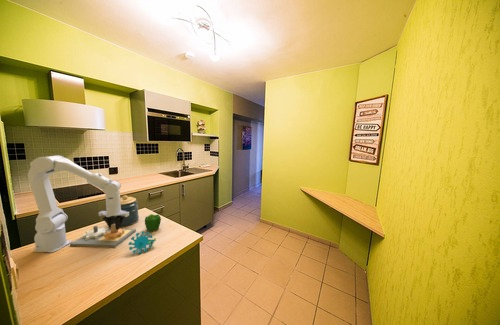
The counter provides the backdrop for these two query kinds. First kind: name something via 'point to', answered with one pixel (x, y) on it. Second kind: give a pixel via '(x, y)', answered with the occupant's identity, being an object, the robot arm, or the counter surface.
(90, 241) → the gear board
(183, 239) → the counter surface
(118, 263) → the counter surface
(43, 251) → the robot arm
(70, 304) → the counter surface
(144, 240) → the teal virus toy
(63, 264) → the counter surface
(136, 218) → the canister
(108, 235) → the wood gear
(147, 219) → the bell pepper
